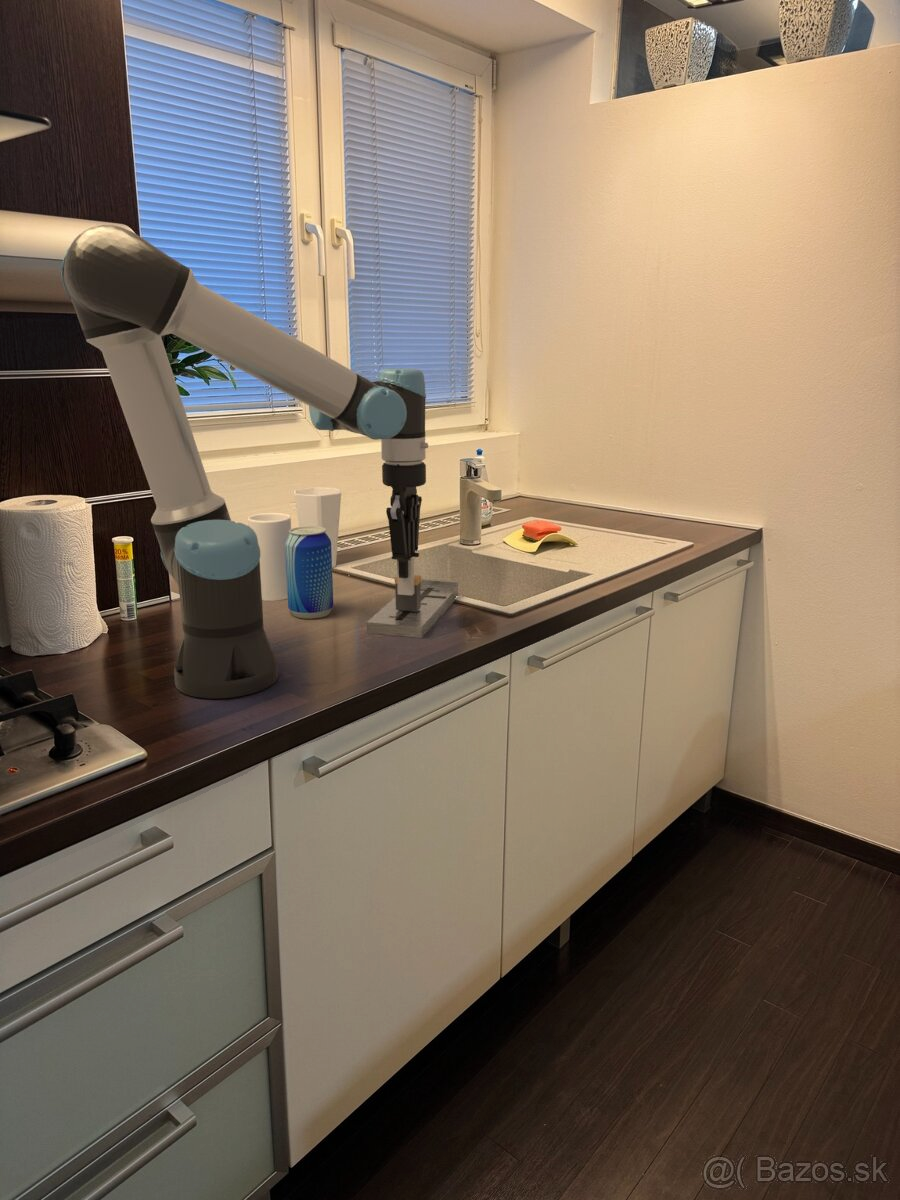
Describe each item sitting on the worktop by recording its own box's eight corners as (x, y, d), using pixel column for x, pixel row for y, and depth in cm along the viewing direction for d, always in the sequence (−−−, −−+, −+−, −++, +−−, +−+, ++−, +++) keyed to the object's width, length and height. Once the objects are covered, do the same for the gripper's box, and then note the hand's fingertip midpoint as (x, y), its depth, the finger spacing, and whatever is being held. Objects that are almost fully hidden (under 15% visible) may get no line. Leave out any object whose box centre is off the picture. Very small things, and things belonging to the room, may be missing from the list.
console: (421, 638, 149) (421, 620, 148) (367, 632, 152) (366, 615, 151) (458, 596, 173) (458, 581, 173) (410, 592, 176) (410, 577, 175)
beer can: (316, 603, 168) (312, 523, 164) (342, 613, 162) (340, 530, 158) (279, 612, 163) (275, 529, 158) (305, 623, 157) (301, 537, 152)
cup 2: (311, 574, 189) (308, 497, 184) (287, 565, 196) (283, 490, 191) (353, 566, 196) (351, 491, 191) (328, 557, 203) (325, 485, 198)
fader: (417, 611, 156) (417, 578, 154) (395, 610, 157) (394, 577, 155) (421, 607, 158) (421, 575, 157) (399, 605, 159) (399, 573, 158)
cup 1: (285, 602, 169) (280, 521, 164) (246, 599, 171) (240, 519, 166) (300, 590, 177) (296, 513, 172) (262, 588, 178) (258, 511, 174)
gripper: (413, 468, 141) (415, 605, 148) (435, 457, 153) (436, 585, 160) (370, 466, 143) (373, 602, 150) (395, 456, 155) (397, 582, 162)
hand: (406, 593), depth 155 cm, fingers closed
